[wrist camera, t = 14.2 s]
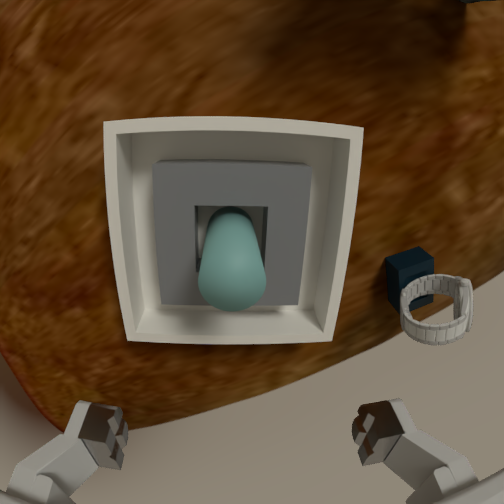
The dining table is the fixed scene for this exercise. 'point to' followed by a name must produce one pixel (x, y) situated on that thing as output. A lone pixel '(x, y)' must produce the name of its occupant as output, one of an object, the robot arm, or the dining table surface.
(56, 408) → the dining table surface
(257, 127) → the open box
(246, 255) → the peg
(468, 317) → the watch
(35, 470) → the robot arm
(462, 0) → the ceramic cat
